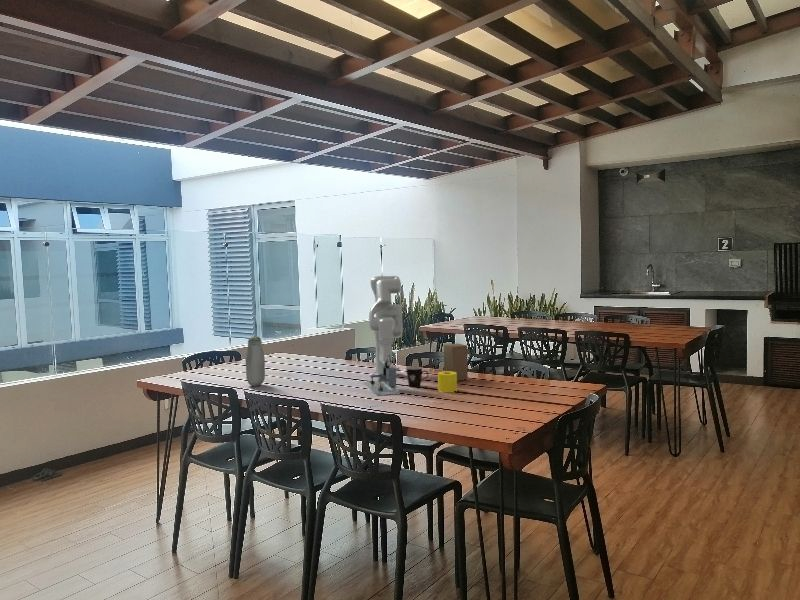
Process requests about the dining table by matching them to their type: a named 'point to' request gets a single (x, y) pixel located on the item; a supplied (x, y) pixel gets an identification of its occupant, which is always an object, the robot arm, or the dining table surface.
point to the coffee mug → (415, 376)
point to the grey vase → (255, 362)
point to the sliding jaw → (389, 377)
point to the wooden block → (456, 360)
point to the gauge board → (384, 388)
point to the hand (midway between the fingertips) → (386, 375)
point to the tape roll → (447, 381)
